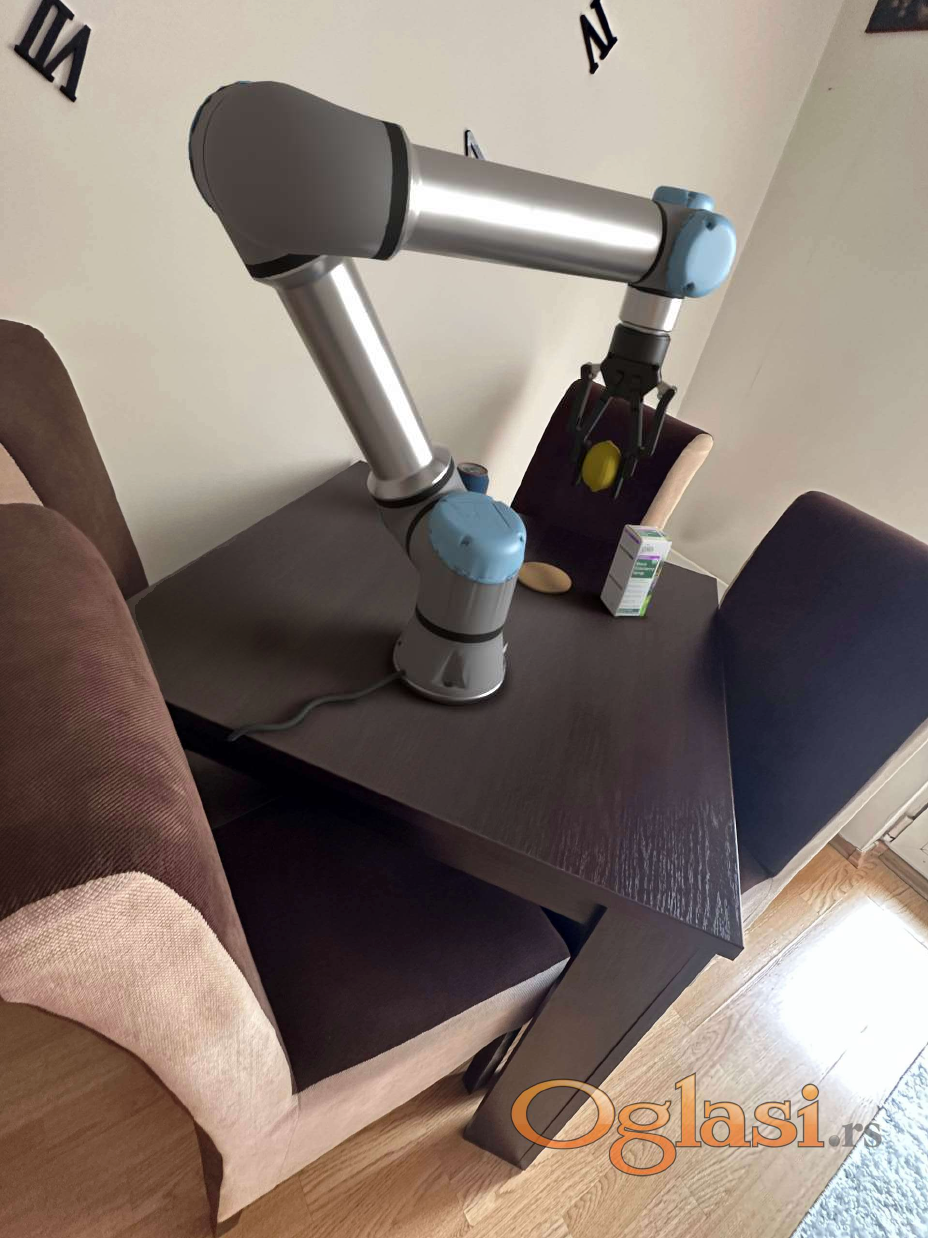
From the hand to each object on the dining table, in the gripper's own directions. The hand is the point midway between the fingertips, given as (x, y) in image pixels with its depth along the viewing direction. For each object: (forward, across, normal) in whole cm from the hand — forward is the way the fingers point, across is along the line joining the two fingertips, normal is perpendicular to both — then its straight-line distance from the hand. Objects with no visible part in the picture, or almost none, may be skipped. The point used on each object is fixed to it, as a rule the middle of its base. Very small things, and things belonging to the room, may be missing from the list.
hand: (594, 489), depth 99 cm
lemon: (+1, 0, 0) cm, 1 cm away
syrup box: (+20, -10, -5) cm, 23 cm away
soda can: (+20, +24, -12) cm, 34 cm away
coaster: (+20, +5, -5) cm, 21 cm away
